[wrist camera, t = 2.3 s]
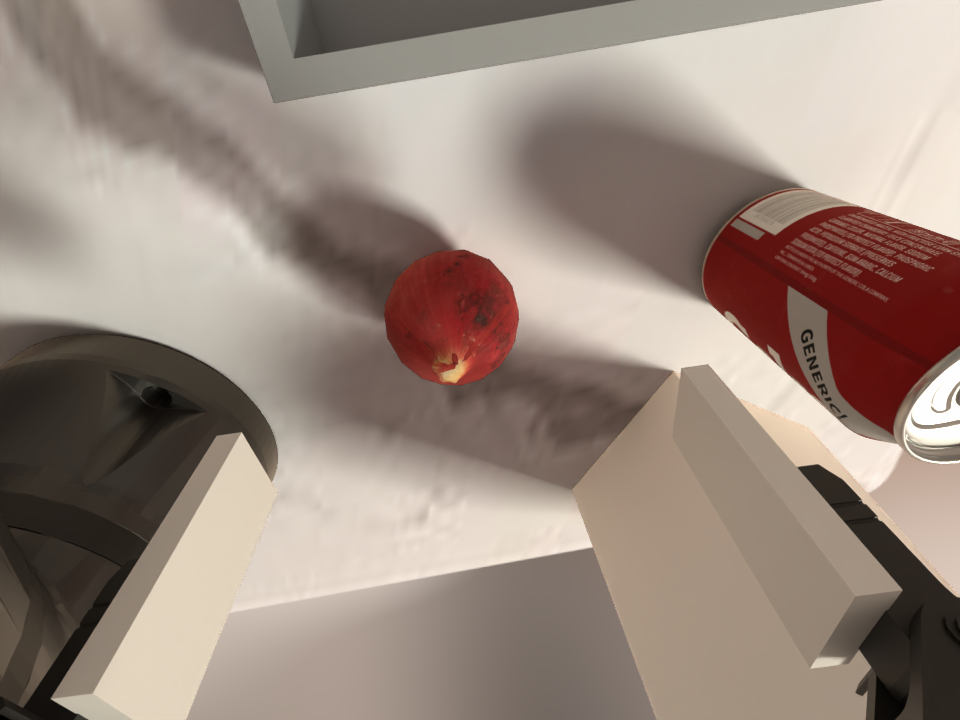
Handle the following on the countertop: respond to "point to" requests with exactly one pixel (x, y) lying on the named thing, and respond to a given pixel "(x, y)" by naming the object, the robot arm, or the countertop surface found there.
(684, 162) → the countertop surface
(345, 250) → the countertop surface
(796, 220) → the soda can
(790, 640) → the milk
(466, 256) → the onion
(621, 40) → the tote
